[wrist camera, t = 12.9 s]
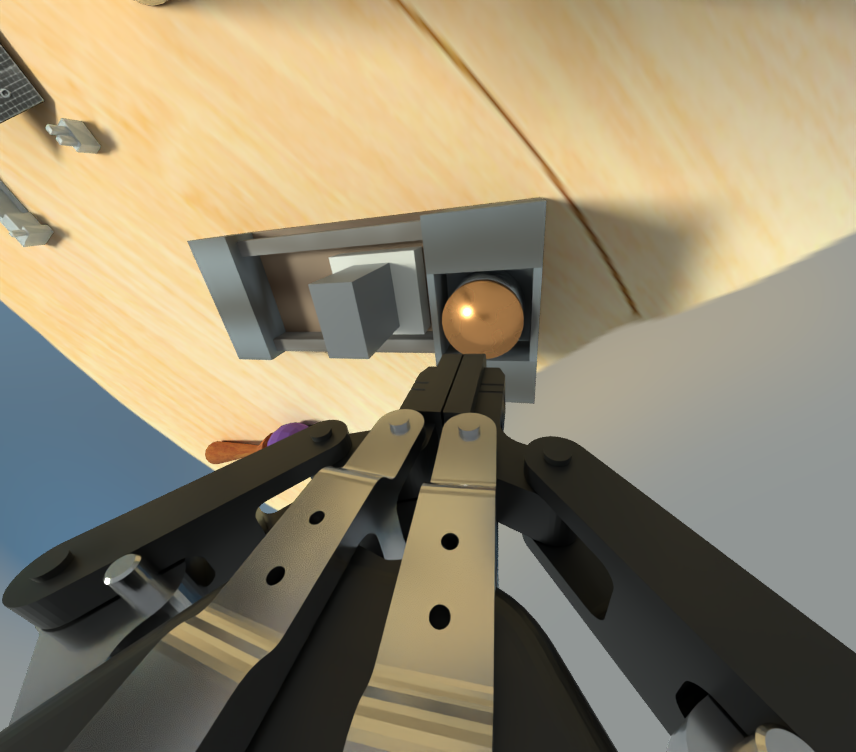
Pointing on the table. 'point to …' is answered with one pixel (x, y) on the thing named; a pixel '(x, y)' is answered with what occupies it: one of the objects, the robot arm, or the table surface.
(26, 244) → the paper cutter
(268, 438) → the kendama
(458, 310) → the button
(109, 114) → the table surface
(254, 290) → the grey stepped base
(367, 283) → the carriage
